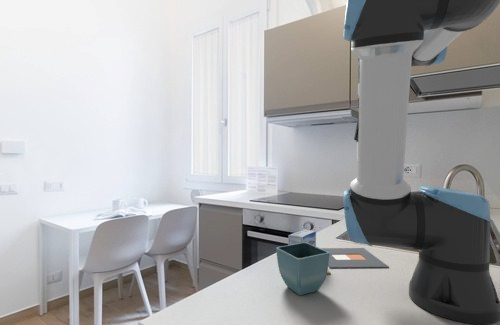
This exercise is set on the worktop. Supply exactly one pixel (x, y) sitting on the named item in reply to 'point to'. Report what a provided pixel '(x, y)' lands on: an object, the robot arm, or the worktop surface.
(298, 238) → the medicine box
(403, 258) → the worktop surface
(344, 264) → the mat
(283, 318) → the worktop surface
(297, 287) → the flower pot
